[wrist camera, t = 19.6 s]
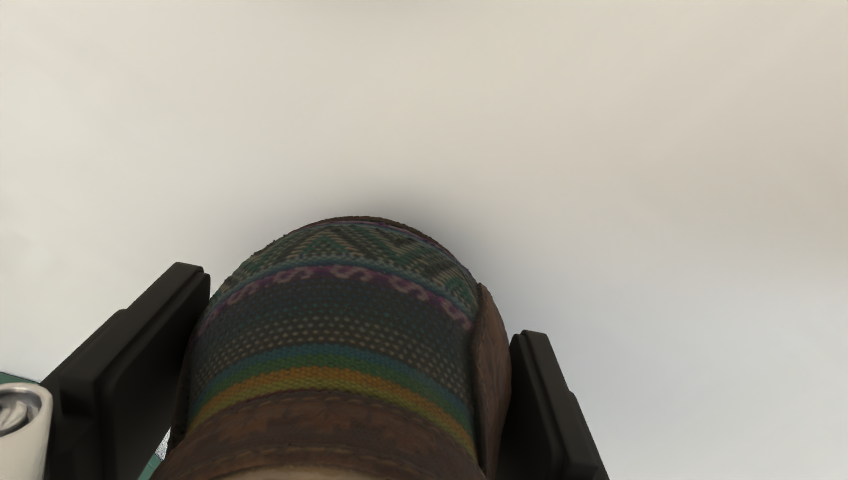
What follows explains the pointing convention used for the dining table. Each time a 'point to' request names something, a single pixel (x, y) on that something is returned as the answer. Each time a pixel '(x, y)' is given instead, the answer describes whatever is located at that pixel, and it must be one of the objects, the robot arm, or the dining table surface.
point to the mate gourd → (343, 364)
